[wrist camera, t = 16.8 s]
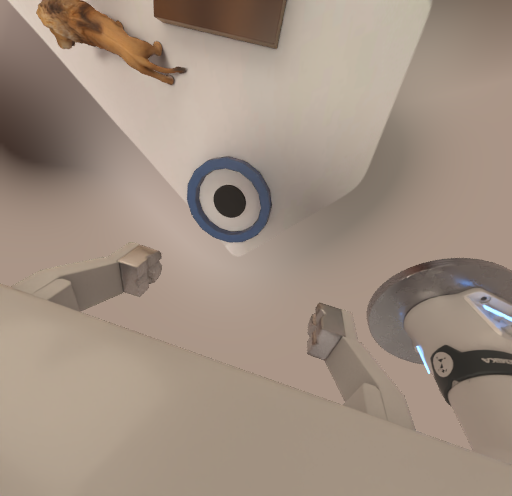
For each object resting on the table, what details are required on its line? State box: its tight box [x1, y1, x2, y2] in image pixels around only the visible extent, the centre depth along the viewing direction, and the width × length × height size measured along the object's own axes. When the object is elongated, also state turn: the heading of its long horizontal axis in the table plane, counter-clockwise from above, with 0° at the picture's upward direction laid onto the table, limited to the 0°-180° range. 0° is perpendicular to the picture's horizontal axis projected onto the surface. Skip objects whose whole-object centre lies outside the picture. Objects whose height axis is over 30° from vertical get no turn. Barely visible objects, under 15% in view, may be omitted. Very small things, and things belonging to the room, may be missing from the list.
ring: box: [187, 157, 272, 242], centre depth 40 cm, size 15×15×2 cm
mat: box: [214, 185, 246, 218], centre depth 40 cm, size 6×6×1 cm
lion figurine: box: [36, 0, 186, 85], centre depth 28 cm, size 15×5×9 cm, turn 72°
